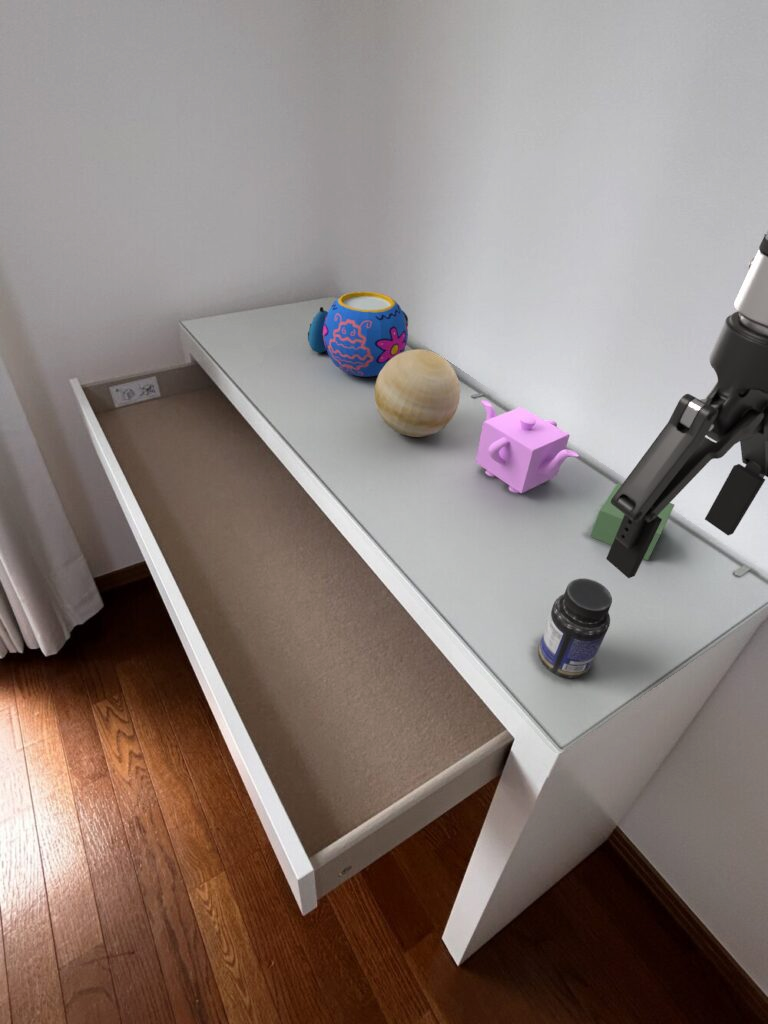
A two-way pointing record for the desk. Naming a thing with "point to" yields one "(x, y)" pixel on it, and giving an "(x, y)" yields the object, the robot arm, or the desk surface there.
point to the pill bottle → (575, 628)
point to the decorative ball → (417, 393)
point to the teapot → (521, 448)
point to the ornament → (317, 332)
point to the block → (613, 517)
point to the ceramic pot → (364, 332)
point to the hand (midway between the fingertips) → (671, 546)
